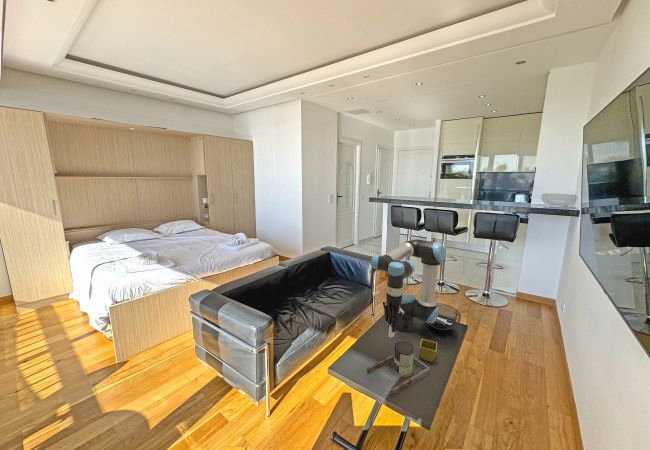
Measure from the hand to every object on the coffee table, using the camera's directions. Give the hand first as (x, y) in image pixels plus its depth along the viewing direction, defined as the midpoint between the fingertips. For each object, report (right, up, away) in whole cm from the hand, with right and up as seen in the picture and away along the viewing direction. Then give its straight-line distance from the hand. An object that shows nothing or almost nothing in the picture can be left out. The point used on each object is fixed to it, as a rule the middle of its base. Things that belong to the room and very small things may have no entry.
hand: (391, 336), depth 132 cm
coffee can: (+9, -23, +10) cm, 27 cm away
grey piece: (+11, -23, +11) cm, 28 cm away
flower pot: (+26, -22, +19) cm, 39 cm away
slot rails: (-1, -24, +4) cm, 24 cm away
